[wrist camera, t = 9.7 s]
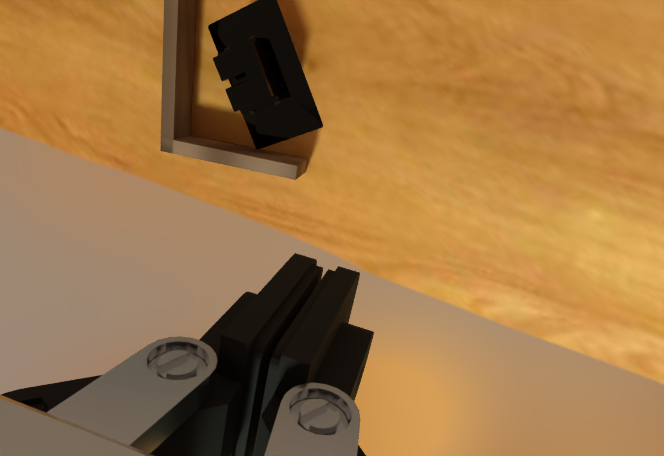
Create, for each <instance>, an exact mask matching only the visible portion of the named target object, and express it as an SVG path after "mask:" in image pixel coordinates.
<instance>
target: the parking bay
mask: <svg viewBox="0 0 664 456" xmlns="http://www.w3.org/2000/svg"><path fill="white" fill-rule="evenodd" d="M196 4H197V0H164V33H163V74H162V114H161V151H164V152H168V153H173V154H178V155H182V156H187V157H192V158H196V159H201V160H205V161H210V162H215V163H219V164H224V165H229V166H233V167H238V168H243V169H247V170H252V171H257V172H261V173H266V174H271V175H275V176H280V177H285V178H289V179H294V180H296V179H297V178H298V177H300V176H301V175H302V174H304V173H305V172H306V165H307V159H304V158H299V157H294V156H289V155H284V154H280V153H275V152H270V151H265V150H260V149H255V148H251V147H246V146H241V145H236V144H231V143H226V142H221V141H217V140H212V139H207V138H202V137H197V136H192V135H190V134H191V112H192V91H193V69H194V48H195V26H196Z"/></svg>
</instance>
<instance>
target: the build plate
mask: <svg viewBox="0 0 664 456" xmlns="http://www.w3.org/2000/svg"><path fill="white" fill-rule="evenodd" d="M208 28H209V31H210V33H211V36H212V39H213V41H214V44H215V46H216V49H217V51H218V56H216V57H214V58H213V61H214V63H215V66H216V68H217V70H218V73H219V75H220V78H221V80H222V81H226V80H228V79H229V81H230V84H231V86H232V87H230V88H228V89H226V93H227V95H228V98H229V100H230V103H231V105H232V108H233V110H234V112H236V111H241V114H243V117H244V119H245V122H246V124H247V127H248V129H249V132H250V134H251V137H252V139H253V142H254V145H255V147H256V149H261V148H264V147H267V146H270V145H273V144H276V143H278V142H281V141H284V140H287V139H290V138H293V137H296V136H299V135H302V134H304V133H307V132H310V131H313V130H316V129H319V128H322V127H323V123H322V121H321V118H320V115H319V113H318V110H317V107H316V105H315V102H314V99H313V97H312V94H311V91H310V88H309V86H308V83H307V80H306V78H305V75H304V72H303V70H302V67H301V64H300V62H299V59H298V56H297V54H296V51H295V48H294V46H293V43H292V40H291V37H290V35H289V32H288V29H287V27H286V24H285V21H284V19H283V16H282V13H281V11H280V8H279V5H278V3H277V0H258V1H256V2H254V3H252V4H250V5H248V6H246V7H244V8H242V9H240V10H238V11H236V12H234V13H232V14H230V15H228V16H226V17H224V18H222V19H220V20H218V21H216V22H214V23H212V24H210V25H209V26H208Z"/></svg>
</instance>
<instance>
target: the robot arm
mask: <svg viewBox="0 0 664 456" xmlns="http://www.w3.org/2000/svg"><path fill="white" fill-rule="evenodd" d="M316 265H317V261H316V259H312V258H309V257H306V256H303V255H299V254H296V253H295V254H294V255H293V256H292V257H291V258H290V259H289V260H288V261H287V262H286V263H285V265H284V266H283V267H282V268H281V269H280V270H279V271H278V272H277V273H276V275H275V276H274V277H273V278H272V279H271V280H270V281H269V282H268V283H267V285H266V286H265V287H264V288H263V289H262V290H261V291H260V292H259V293H258V294H254V293H251V292H246V293H244V294H243V295H242V296H241V297H240V298H239V299H238V300H237V301H236V303H234V304H233V305H232V306H231V308H230V309H229V310H228V311H227V312H226V313H225V314H224V315H223V316H222V317H221V318H220V319H219V320H218V321H217V322H216V323H215V324H214V325H213V326H212V327H211V328H210V329H209V330H208V332H206V333H205V334H204V336H203V337H202V338H201V339H200V340H197V339H193V338H188V337H168V338H164V339H160V340H157V341H155V342H153V343H151V344H149V345H147V346H146V347H144V348H143V349H141V350H140V351H138V352H137V353H135V354H134V355H132V356H131V357H129V358H128V359H126V360H125V361H123V362H122V363H120V364H119V365H117V366H116V367H114V368H113V369H111V370H110V371H108V372H107V373H105V374H104V375H100V376H94V377H88V378H82V379H76V380H71V381H65V382H59V383H53V384H47V385H41V386H36V387H29V388H24V389H19V390H15V391H11V392H7V393H4V394H2V395H0V456H366V455H365V454H364V452H363V451H362V449H361V448H360V447H359V445H358V439H359V428H360V414H359V410H358V408H357V406H356V404H355V402H354V400H355V397H356V394H357V391H358V387H359V385H360V381H361V378H362V374H363V371H364V368H365V365H366V361H367V357H368V354H369V350H370V346H371V342H372V339H373V334H374V332H372V331H370V330H366V329H363V328H360V327H357V326H354V325H351V324H348V322H349V318H350V314H351V310H352V306H353V302H354V297H355V293H356V289H357V285H358V281H359V276H360V273H359V272H356V271H352V270H349V269H346V268H342V267H339V266H338V268H337V269H336V271H332V270H328V271H327V272H326V274H325V275H324V277H323V278H322V279H321V277H322V272H323V268H322V267H319V266H316Z"/></svg>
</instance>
